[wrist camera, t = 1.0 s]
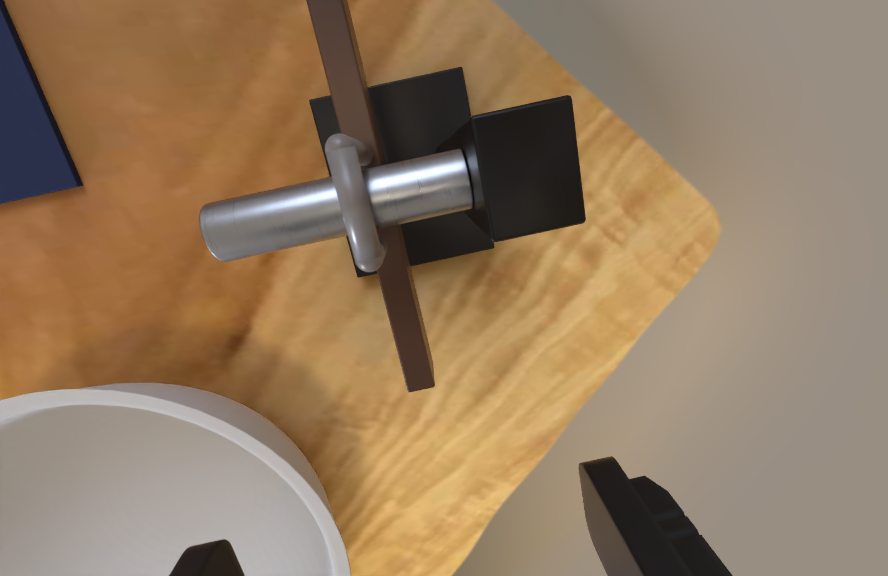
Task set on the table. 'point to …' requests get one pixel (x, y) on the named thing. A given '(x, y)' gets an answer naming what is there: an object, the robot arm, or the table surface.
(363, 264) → the hanger
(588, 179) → the table surface
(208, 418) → the bowl
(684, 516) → the robot arm
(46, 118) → the mat
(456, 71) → the coat stand
